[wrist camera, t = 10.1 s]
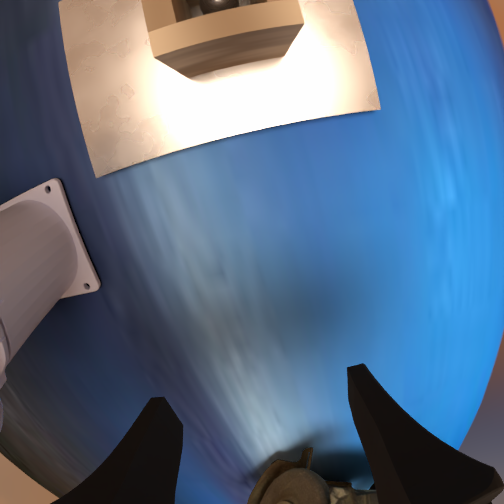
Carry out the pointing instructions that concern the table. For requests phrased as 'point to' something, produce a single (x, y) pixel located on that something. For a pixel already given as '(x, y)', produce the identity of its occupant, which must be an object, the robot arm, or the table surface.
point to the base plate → (204, 81)
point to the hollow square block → (220, 33)
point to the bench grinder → (305, 486)
